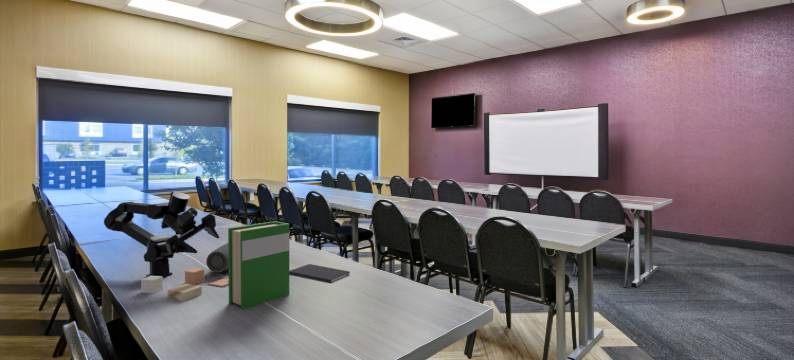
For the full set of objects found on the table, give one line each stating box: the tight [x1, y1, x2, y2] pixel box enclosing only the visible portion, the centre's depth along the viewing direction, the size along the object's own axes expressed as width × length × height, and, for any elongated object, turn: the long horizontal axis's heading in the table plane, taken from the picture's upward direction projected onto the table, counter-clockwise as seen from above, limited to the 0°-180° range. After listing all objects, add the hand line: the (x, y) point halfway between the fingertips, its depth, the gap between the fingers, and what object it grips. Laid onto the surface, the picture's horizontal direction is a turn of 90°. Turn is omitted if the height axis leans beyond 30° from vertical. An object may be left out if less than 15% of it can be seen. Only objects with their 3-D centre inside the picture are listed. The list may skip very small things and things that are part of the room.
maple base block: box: [167, 283, 203, 302], centre depth 138 cm, size 7×7×3 cm
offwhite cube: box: [140, 276, 164, 294], centre depth 142 cm, size 4×4×4 cm
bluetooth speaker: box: [205, 242, 229, 273], centre depth 172 cm, size 23×9×10 cm, turn 179°
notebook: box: [289, 263, 351, 283], centre depth 165 cm, size 13×2×21 cm
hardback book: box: [227, 221, 290, 311], centre depth 135 cm, size 18×7×24 cm, turn 143°
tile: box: [207, 278, 229, 288], centre depth 151 cm, size 7×7×1 cm
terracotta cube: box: [184, 267, 205, 285], centre depth 152 cm, size 4×4×4 cm
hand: (208, 244), depth 149 cm, fingers open, 9 cm apart
